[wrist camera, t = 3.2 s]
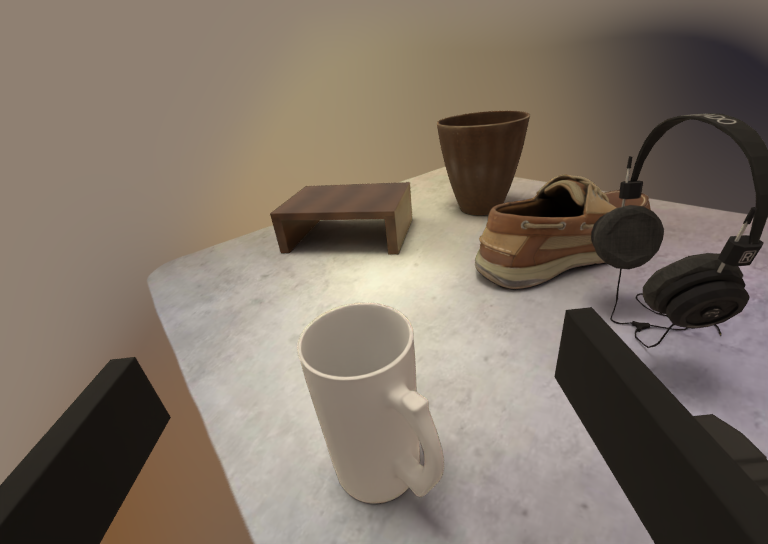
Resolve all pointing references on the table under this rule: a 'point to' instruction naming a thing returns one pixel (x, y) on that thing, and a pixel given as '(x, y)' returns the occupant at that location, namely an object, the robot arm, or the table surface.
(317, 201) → the walnut shelf
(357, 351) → the mug
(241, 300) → the table surface
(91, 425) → the robot arm
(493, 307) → the table surface
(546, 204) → the boat shoe
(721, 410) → the table surface
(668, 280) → the headphones
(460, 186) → the flower pot
